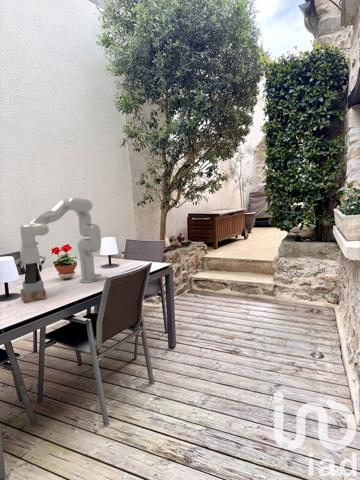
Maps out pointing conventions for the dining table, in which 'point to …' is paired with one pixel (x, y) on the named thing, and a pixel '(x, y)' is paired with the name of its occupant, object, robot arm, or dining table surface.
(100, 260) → the dining table surface
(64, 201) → the robot arm
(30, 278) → the phone stand
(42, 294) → the base block
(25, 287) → the top block
